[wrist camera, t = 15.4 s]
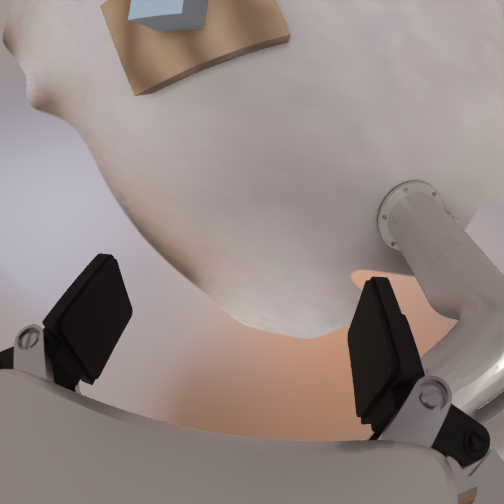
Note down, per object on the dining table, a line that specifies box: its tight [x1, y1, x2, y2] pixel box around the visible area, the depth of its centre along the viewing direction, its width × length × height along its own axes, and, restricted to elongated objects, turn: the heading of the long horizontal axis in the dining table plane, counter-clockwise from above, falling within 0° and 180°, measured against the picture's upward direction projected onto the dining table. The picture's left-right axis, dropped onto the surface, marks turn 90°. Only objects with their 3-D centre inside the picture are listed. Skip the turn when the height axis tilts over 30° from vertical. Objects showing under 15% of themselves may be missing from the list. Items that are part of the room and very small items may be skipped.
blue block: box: [128, 0, 208, 32], centre depth 19 cm, size 6×6×8 cm
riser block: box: [101, 0, 290, 96], centre depth 25 cm, size 20×16×6 cm
